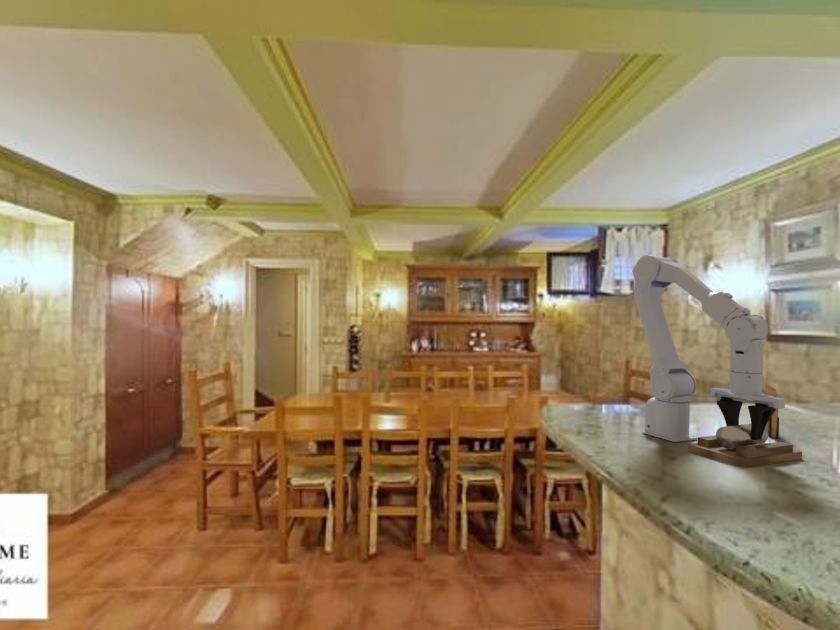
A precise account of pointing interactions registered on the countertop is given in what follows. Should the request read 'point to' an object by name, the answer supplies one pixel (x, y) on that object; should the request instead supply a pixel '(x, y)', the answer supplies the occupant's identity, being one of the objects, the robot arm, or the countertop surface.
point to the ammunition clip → (774, 419)
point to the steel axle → (738, 436)
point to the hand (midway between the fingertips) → (744, 436)
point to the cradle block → (746, 452)
